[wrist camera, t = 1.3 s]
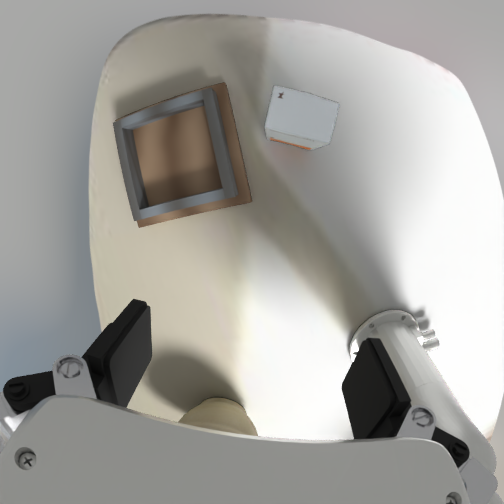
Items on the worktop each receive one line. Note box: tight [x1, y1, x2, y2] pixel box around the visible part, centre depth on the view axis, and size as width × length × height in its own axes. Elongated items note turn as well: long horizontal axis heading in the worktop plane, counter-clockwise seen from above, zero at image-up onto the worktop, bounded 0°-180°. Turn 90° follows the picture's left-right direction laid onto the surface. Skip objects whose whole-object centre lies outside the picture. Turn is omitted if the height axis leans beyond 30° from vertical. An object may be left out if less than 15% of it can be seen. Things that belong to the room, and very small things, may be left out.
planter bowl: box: [179, 398, 258, 436], centre depth 43 cm, size 16×16×11 cm
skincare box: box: [264, 85, 340, 150], centre depth 27 cm, size 6×4×12 cm
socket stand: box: [113, 82, 252, 228], centre depth 32 cm, size 16×16×4 cm
